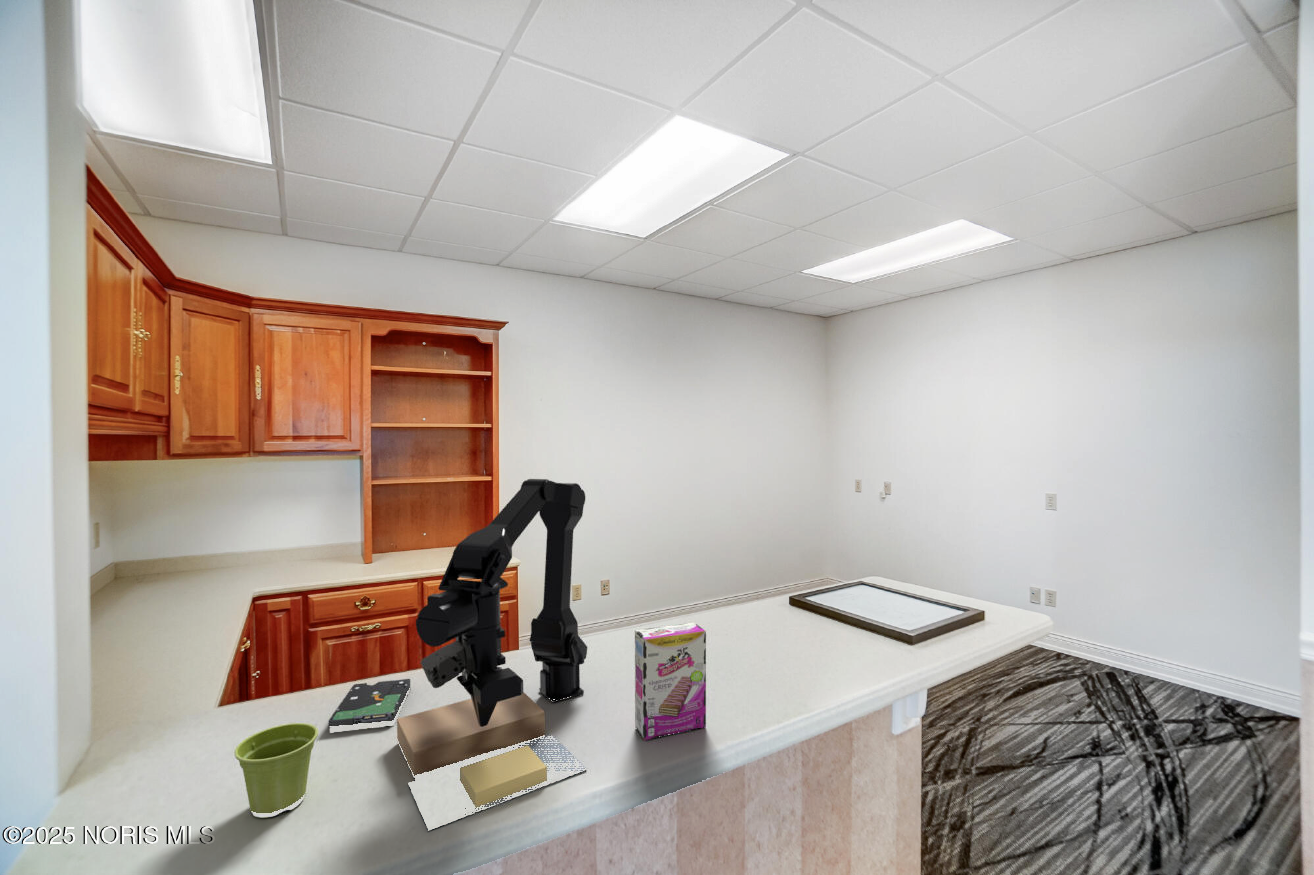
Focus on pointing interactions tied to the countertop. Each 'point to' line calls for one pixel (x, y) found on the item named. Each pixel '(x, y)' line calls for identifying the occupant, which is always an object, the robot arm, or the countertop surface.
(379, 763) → the countertop surface
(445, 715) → the deck
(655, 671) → the candy bar box
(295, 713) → the countertop surface
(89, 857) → the countertop surface
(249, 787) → the plant pot
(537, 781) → the block
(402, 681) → the disk drive
